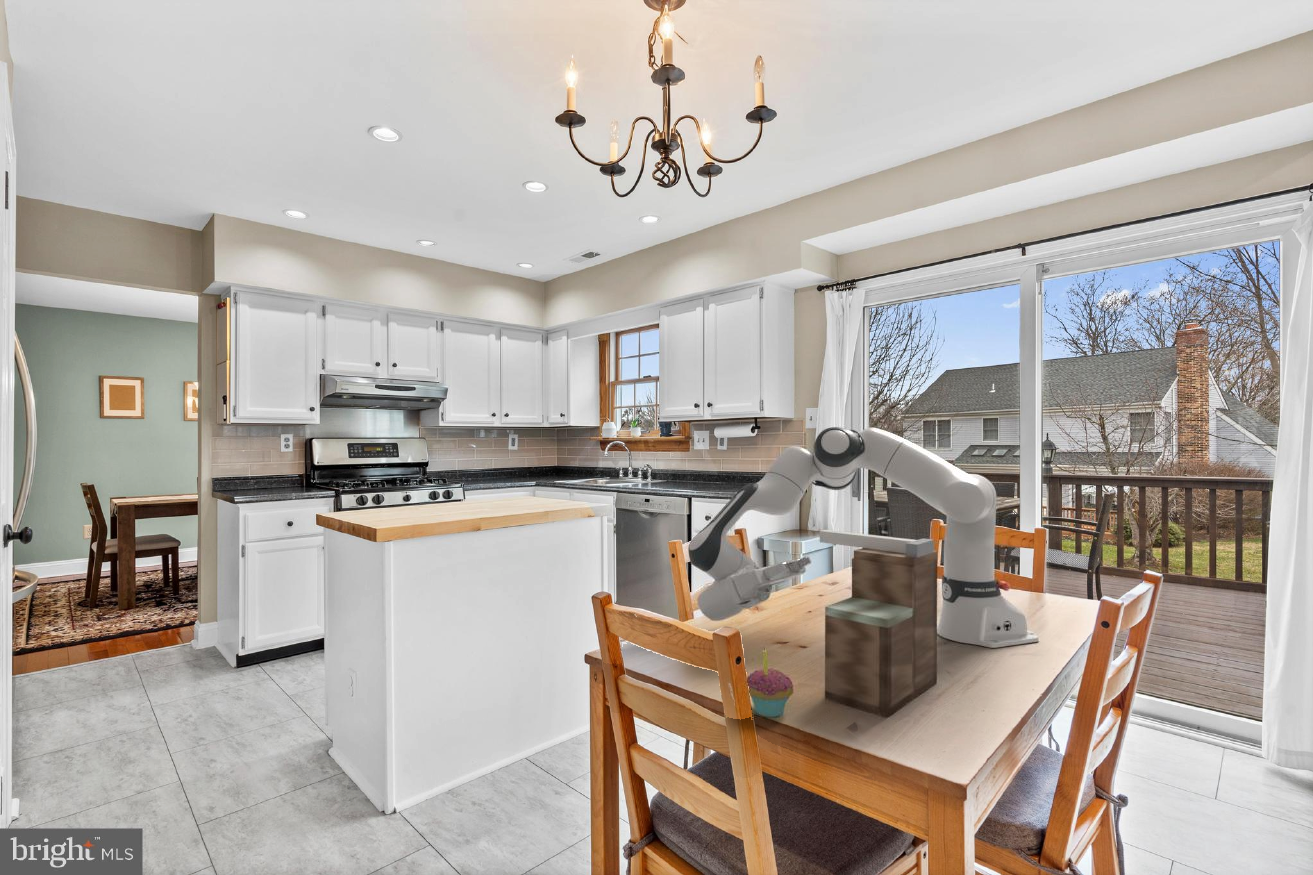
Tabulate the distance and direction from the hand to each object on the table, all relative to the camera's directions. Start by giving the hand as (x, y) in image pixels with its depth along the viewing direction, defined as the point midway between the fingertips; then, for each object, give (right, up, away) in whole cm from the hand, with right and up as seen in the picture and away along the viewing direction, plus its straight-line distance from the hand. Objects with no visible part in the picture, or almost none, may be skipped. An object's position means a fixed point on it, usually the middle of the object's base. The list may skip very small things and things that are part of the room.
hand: (797, 562), depth 145 cm
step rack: (+12, -21, -19) cm, 31 cm away
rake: (+12, +5, -11) cm, 17 cm away
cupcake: (-11, -21, -29) cm, 37 cm away
